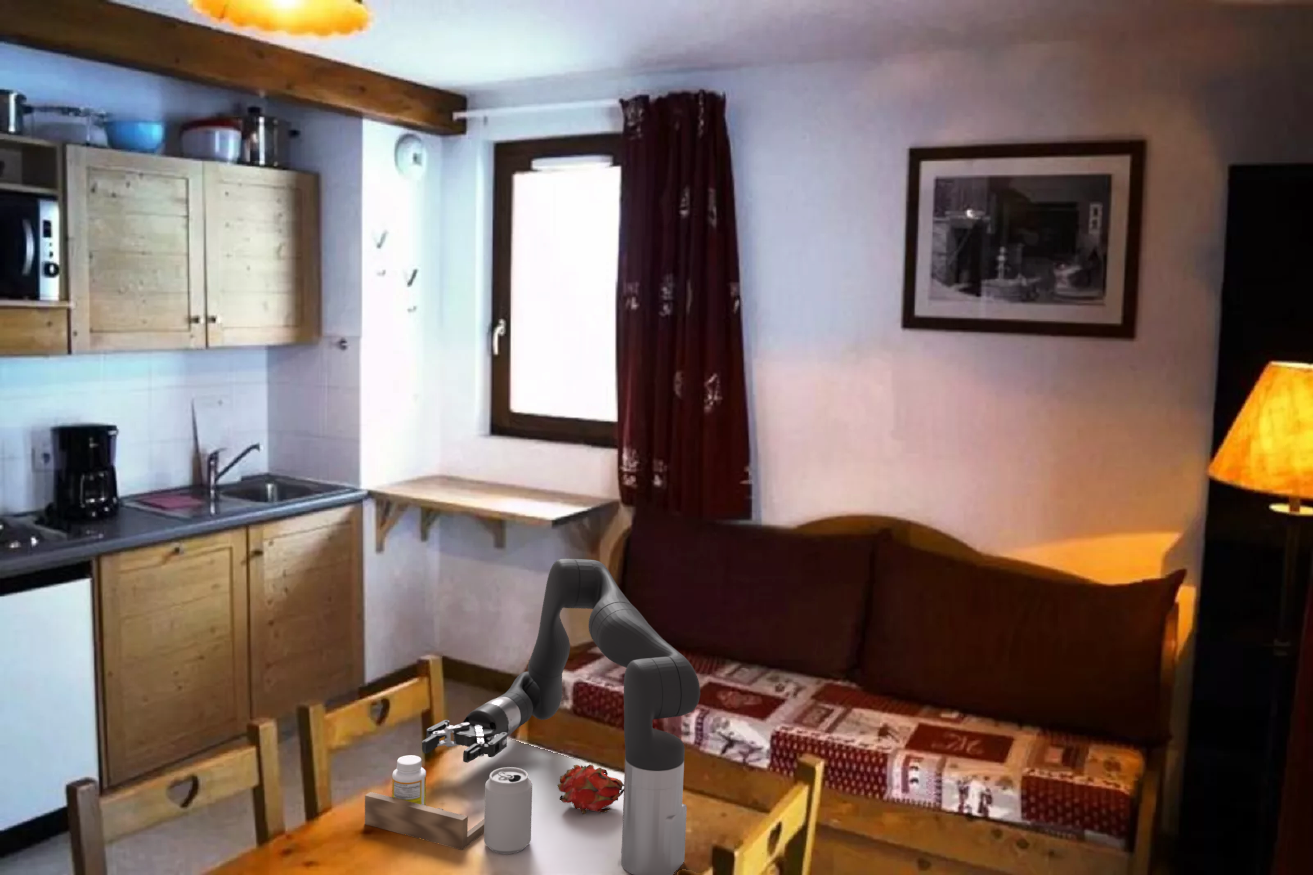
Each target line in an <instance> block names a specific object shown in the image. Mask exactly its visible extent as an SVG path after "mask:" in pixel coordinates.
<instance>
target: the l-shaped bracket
mask: <svg viewBox="0 0 1313 875" xmlns="http://www.w3.org/2000/svg"><path fill="white" fill-rule="evenodd" d="M468 818H469V817H468V815H464V814H460V813H457V812H452V811H448V810H444V808H441V807H437V808H435V807H433V806H428V805H426V806H425V805H421V804H417V803H413V802H409V801H405V800H401V799H397V798H393V797H392V796H389V795H385V794H381V793H376V792H373V791H370V792H367V793H366V794H365V795H364V825H366V826H371V827H374V828H378V829H382V830H385V831H389V832H394V833H397V834H400V835H404V834H406V835H405V836H407V835H408V837H411V836H412V838H415V839H419V838H421V839H420V840H422V839H424V841H427V842H431V843H435V844H437V843H439V844H438V845H442V846H446V847H450V848H452V849H457V850H460V851H463V850H464V849H465V848H466V847H468V846H469V845H470V844H472V843H473V842H475V841H476V840H477V839H478V838H479V837H481V836H482V835H484V819H482V820H481V821H480V822H478V823H477V824H475V825H474V826H473V827H472V828H470V829H469V828H468V826H469V825H468V824H469V821H468ZM468 829H469V830H468Z"/></svg>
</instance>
